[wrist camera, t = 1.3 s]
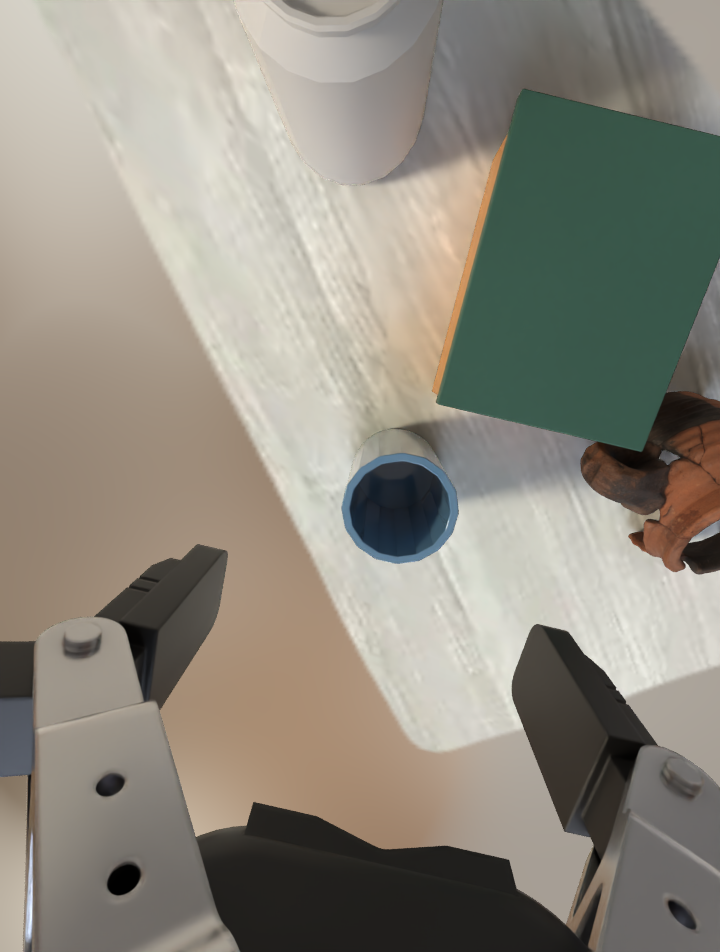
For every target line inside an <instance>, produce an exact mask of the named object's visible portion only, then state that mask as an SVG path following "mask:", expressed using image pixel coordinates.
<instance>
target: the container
mask: <svg viewBox="0 0 720 952" xmlns="http://www.w3.org/2000/svg"><path fill="white" fill-rule="evenodd" d="M719 258H720V136H717V135H713V134H709V133H705V132H701V131H697V130H692V129H688V128H684V127H680V126H676V125H672V124H668V123H664V122H659V121H655V120H651V119H647V118H643V117H639V116H635V115H631V114H626V113H622V112H618V111H614V110H610V109H606V108H602V107H598V106H593V105H589V104H585V103H581V102H577V101H573V100H569V99H565V98H560V97H556V96H552V95H548V94H544V93H540V92H536V91H532V90H527V89H522V91H521V93H520V95H519V97H518V98H517V102H516V105H515V109H514V113H513V116H512V120H511V124H510V128H509V131H508V134H507V135H506V137H505V139H504V141H503V143H502V144H501V146H500V148H499V150H498V152H497V153H496V155H495V157H494V159H493V162H492V166H491V169H490V173H489V177H488V181H487V185H486V188H485V192H484V196H483V200H482V204H481V207H480V211H479V215H478V219H477V222H476V226H475V230H474V234H473V238H472V241H471V245H470V249H469V253H468V257H467V260H466V264H465V268H464V272H463V275H462V279H461V283H460V287H459V291H458V294H457V298H456V302H455V306H454V309H453V313H452V317H451V321H450V325H449V328H448V332H447V336H446V340H445V344H444V347H443V351H442V355H441V359H440V362H439V366H438V370H437V374H436V378H435V381H434V385H433V389H432V392H434V393H435V394H437V395H438V396H437V400H436V403H437V404H439V405H443V406H447V407H452V408H456V409H460V410H465V411H469V412H473V413H477V414H482V415H486V416H490V417H495V418H499V419H503V420H507V421H512V422H516V423H520V424H525V425H529V426H533V427H537V428H542V429H546V430H550V431H554V432H559V433H563V434H567V435H572V436H576V437H580V438H584V439H589V440H593V441H597V442H602V443H606V444H610V445H614V446H619V447H623V448H627V449H632V450H636V451H640V452H641V451H643V449H644V446H645V444H646V441H647V439H648V436H649V434H650V431H651V428H652V426H653V423H654V421H655V418H656V416H657V413H658V411H659V408H660V406H661V403H662V401H663V398H664V396H665V393H666V391H667V388H668V386H669V383H670V381H671V378H672V376H673V373H674V371H675V368H676V366H677V363H678V361H679V358H680V356H681V353H682V351H683V348H684V346H685V343H686V341H687V338H688V336H689V333H690V331H691V328H692V326H693V323H694V321H695V318H696V316H697V313H698V311H699V308H700V306H701V303H702V301H703V298H704V296H705V293H706V291H707V288H708V286H709V283H710V281H711V278H712V276H713V273H714V271H715V268H716V266H717V263H718V261H719Z"/></svg>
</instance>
